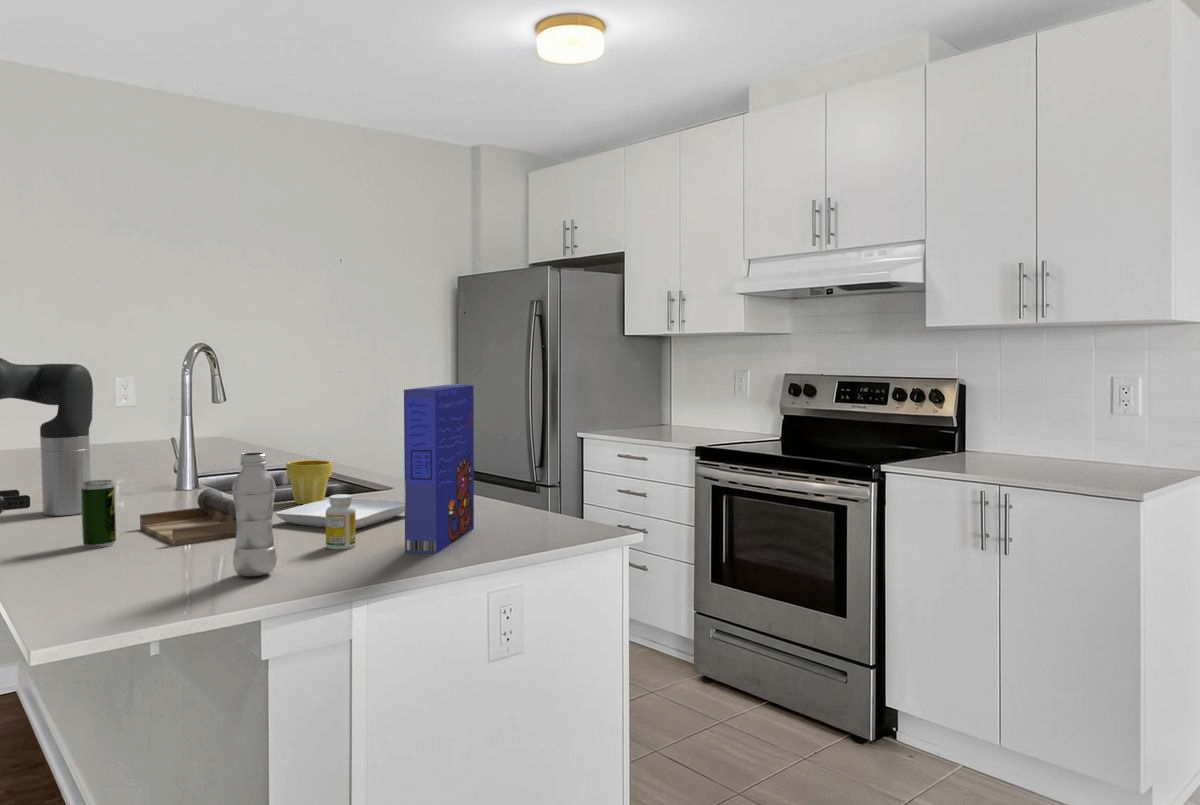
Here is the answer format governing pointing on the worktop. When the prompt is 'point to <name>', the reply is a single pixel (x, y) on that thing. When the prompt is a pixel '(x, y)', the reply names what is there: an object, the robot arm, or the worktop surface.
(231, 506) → the bay
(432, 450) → the cereal box
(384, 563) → the worktop surface
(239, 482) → the plastic bottle
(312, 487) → the plant pot
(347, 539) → the supplement bottle
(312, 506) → the salad plate
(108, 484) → the beer can
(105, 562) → the worktop surface
